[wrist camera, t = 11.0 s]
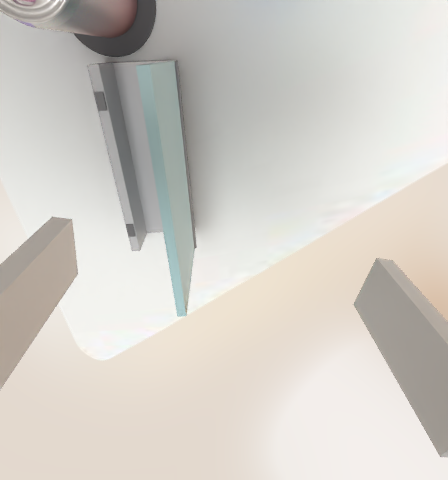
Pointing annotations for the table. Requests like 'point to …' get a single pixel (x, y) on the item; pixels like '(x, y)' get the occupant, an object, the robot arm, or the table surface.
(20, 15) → the beverage can
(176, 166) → the cover
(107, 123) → the grey rectangular tray
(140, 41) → the coaster
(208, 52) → the table surface
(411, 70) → the table surface
